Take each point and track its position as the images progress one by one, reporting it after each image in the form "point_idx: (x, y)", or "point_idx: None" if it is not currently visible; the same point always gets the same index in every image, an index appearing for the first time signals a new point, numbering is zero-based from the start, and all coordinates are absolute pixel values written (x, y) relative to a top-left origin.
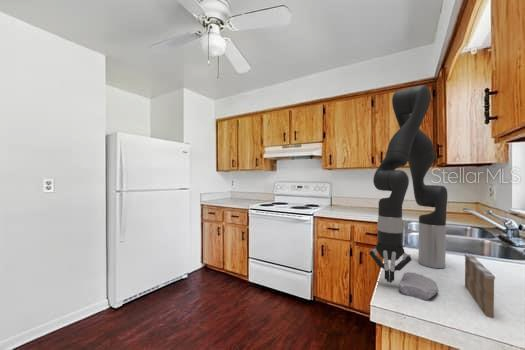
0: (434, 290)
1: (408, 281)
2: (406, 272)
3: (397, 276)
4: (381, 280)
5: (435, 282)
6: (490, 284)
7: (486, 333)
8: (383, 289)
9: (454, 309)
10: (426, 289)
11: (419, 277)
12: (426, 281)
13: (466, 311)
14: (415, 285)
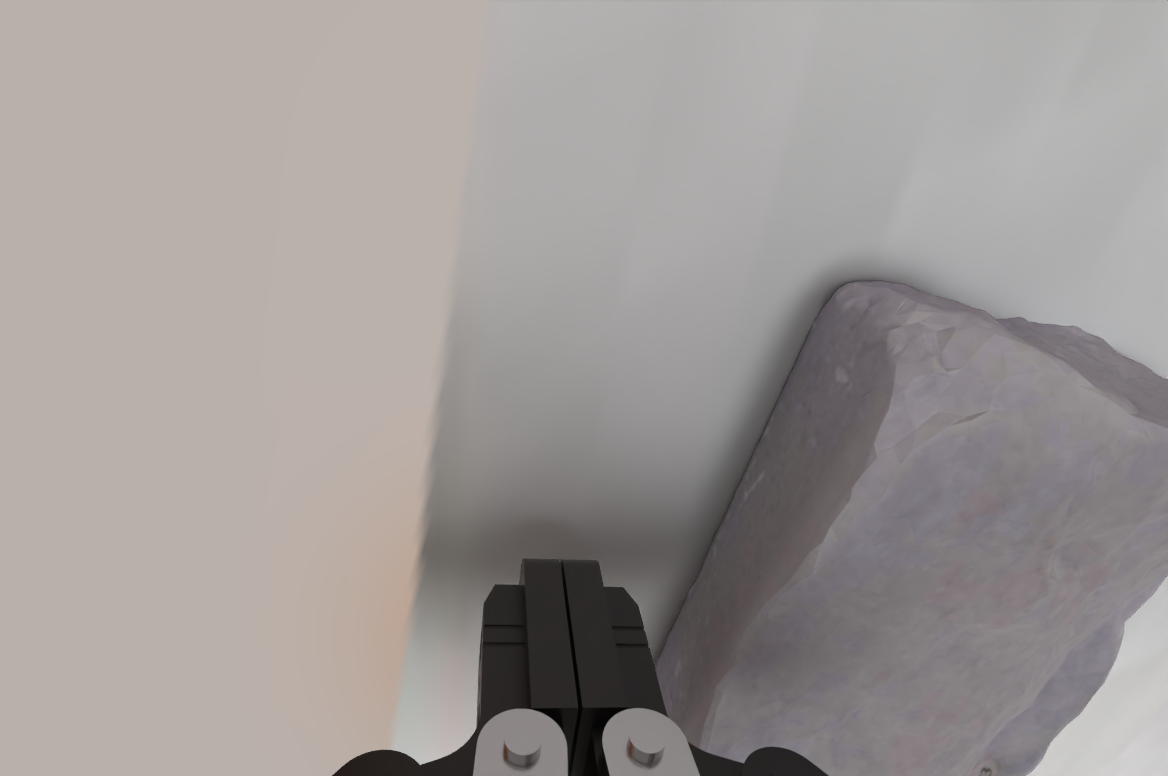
0: (1061, 728)
1: (820, 722)
2: (930, 456)
3: (763, 72)
4: (442, 414)
5: None
6: None
7: None
8: (463, 684)
9: (1057, 762)
10: (969, 770)
11: (1076, 535)
12: (1115, 569)
13: (1141, 750)
14: None
